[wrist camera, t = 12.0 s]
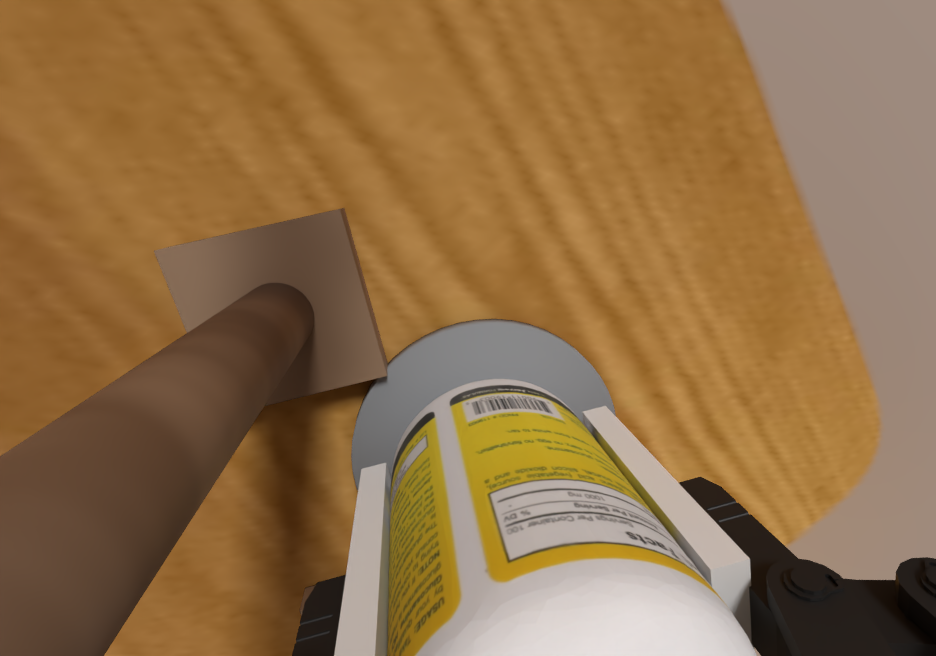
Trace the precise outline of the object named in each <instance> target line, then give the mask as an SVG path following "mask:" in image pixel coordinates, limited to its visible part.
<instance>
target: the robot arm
mask: <svg viewBox="0 0 936 656" xmlns="http://www.w3.org/2000/svg"><path fill="white" fill-rule="evenodd" d="M582 413H583V420H584V425H585V427H586V428H587V429H588V431H589V432H590V433H591V434H592V436H593V437H594V438H595V440H596V441H597V442H598V444H599V445H600V446H601V448H602V449H603V450H604V451H605V453H606V454H607V455H608V456H609V458H610V459H611V460H612V461H613V463H614V464H615V465H616V467H617V468H618V469H619V470H620V472H621V473H622V474H623V476H624V477H625V478H626V479H627V480H628V482H629V483H630V484H631V485H632V487H633V488H634V489H635V491H636V492H637V493H638V494H639V496H640V497H641V498H642V499H643V501H644V502H645V503H646V504H647V506H648V507H649V508H650V510H651V511H652V512H653V513H654V515H655V516H656V517H657V519H658V520H659V521H660V522H661V524H662V525H663V526H664V527H665V529H666V530H667V531H668V532H669V534H670V535H671V536H672V537H673V539H674V540H675V541H676V543H677V544H678V545H679V547H680V548H681V549H682V550H683V551H684V553H685V554H686V556H687V557H688V558H689V559H690V560H691V561H692V562H693V563H694V565H695V567H696V568H697V569H698V570H699V572H700V573H701V574H702V576H703V577H704V578H705V579H706V580H707V582H708V583H709V584H710V585H711V586H712V588H713V589H714V590H715V591H716V592H717V594H718V595H719V596H720V598H721V599H722V600H723V601H724V603H725V604H726V605H727V607H728V608H729V609H730V611H731V612H732V613H733V615H734V617H735V618H736V620H737V621H738V623H739V624H740V626H741V627H742V629H743V630H744V632H745V633H746V635H747V636H748V638H749V640H750V642H751V644H752V646H753V648H754V647H755V648H756V649H757V651H758V652H759V653H760V655H761V656H936V559H934V558H911V559H909V560H907V561H905V562H902V563H901V564H900V566H899V567H898V569H897V571H896V580H852V579H843V578H841V576H840V575H839V574H837V573H835V572H834V571H832V570H831V569H829V568H827V567H826V566H824V565H821V564H818V563H815V562H812V561H809V560H802V559H798V558H797V557H796V556H795V555H794V554H793V553H792V552H791V551H790V550H788V549H787V548H786V547H785V546H784V545H783V544H782V543H781V542H780V541H779V540H778V539H777V538H776V537H774V536H773V535H772V534H771V533H770V532H769V531H768V530H767V529H766V528H765V527H764V526H763V525H762V524H760V523H759V522H758V521H757V520H756V519H755V518H754V517H753V516H752V515H749V514H748V511H747V510H745V509H744V508H743V507H742V506H741V505H740V504H739V503H736V500H735V499H734V498H733V497H731V496H730V495H729V494H728V493H727V492H726V491H725V490H724V489H723V488H722V487H721V486H719V485H716V484H714V483H712V482H710V481H708V480H706V479H704V478H702V477H698V478H694V479H691V480H687V481H683V482H680V483H678V482H677V481H676V480H675V479H674V478H673V477H672V476H671V475H670V474H669V472H668V471H667V470H666V469H665V468H664V467H663V466H662V465H661V464H660V463H659V462H658V461H657V460H656V459H655V458H654V457H653V455H652V454H651V453H650V452H649V451H648V450H647V449H646V448H645V447H644V446H643V445H642V444H641V443H640V442H639V441H638V440H637V439H636V437H635V436H634V435H633V434H632V433H631V432H630V431H629V430H628V429H627V428H626V427H625V426H624V425H623V424H622V423H621V422H620V421H619V419H618V418H617V417H616V416H615V415H614V414H613V413H612V412H611V411H610V410H609V409H608V408H607V407H606V406H602V407H599V408H595V409H591V410H587V411H583V412H582ZM390 497H391V477H390V474H389V470H388V467H387V464H386V463H382V464H378V465H375V466H371V467H367V468H363V469H361V475H360V482H359V489H358V496H357V503H356V509H355V516H354V523H353V530H352V537H351V544H350V551H349V558H348V564H347V571H346V575H344V576H340V577H336V578H333V579H329V580H325V581H322V582H318V583H317V584H316V586H315V587H314V589H313V590H312V592H311V593H310V595H309V597H308V598H307V600H306V601H305V604H304V608H303V612H302V616H301V621H300V626H299V629H298V633H297V638H296V644H295V646H294V650H293V654H292V656H387V647H388V605H389V546H390Z"/></svg>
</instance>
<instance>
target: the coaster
mask: <svg viewBox="0 0 936 656" xmlns="http://www.w3.org/2000/svg"><path fill="white" fill-rule="evenodd" d="M489 379H510V380H518V381H523V382H527V383H531V384H534V385H536V386H538V387H541V388H543V389H545V390H547V391H548V392H550V393H551V394H553V395H555V396H556V397H557V398H559V399H560V400H561V401H563V402H564V403H565V404H566V405H567V406H568V407H569V408H570V409H571V410H572V411H573V412H574V414H575V415H576V416H577V417H578V418H579V420H580V421H581V422H582V423H583V424H584V420H583V413H582V412H583V411H587V410H591V409H595V408H599V407H602V406H606V407H607V408H608V409H609V410H610V411H611V412H612V413H613V414H614V415H615V410H614V405H613V403H612V400H611V397H610V394H609V392H608V390H607V388H606V386H605V384H604V382H603V380H602V379H601V377H600V376H599V374H598V373H597V372H596V370H595V369H594V368H593V366H592V365H591V364H590V363H589V362H588V361H587V360H586V359H585V358H584V357H583V356H582V355H581V354H580V353H579V352H578V351H577V350H576V349H574V348H573V347H572V346H571V345H569V344H568V343H567V342H565V341H564V340H562V339H561V338H560V337H558V336H556V335H554V334H552V333H550V332H548V331H546V330H544V329H541V328H539V327H536V326H533V325H530V324H527V323H522V322H517V321H513V320H502V319H482V320H472V321H466V322H461V323H456V324H453V325H450V326H447V327H444V328H440V329H438V330H436V331H434V332H432V333H429V334H427V335H425V336H423V337H421V338H420V339H418V340H417V341H415V342H413V343H412V344H410V345H408V346H407V347H406V348H405V349H403V350H402V351H401V352H400V353H399V354H397V355H396V356H395V357H394V358H393V359H392V360H391V361H390V362H389V363H388V367H387V376H385V377H381V378H376V379H375V380H374V381H373V383H372V384H371V386H370V388H369V390H368V392H367V394H366V395H365V397H364V399H363V402H362V405H361V407H360V410H359V413H358V416H357V420H356V425H355V430H354V435H353V440H352V456H351V457H352V468H353V475H354V479H355V483H356V487H357V490H358V489H359V482H360V475H361V469H363V468H367V467H371V466H375V465H378V464H382V463H386V464H387V467H388V470H389V474H390V477H391V475H392V467H393V462H394V457H395V453H396V450H397V447H398V444H399V442H400V440H401V438H402V436H403V434H404V432H405V430H406V429H407V427H408V426H409V425H410V423H411V422H412V421H413V419H414V418H415V417H416V416H417V415H418V414H419V413H420V412H421V411H422V410H423V409H424V408H425V407H426V406H427V405H428V404H430V403H431V402H432V401H434V400H435V399H436V398H438V397H439V396H441V395H443V394H444V393H446V392H448V391H450V390H452V389H454V388H457V387H459V386H462V385H465V384H468V383H472V382H476V381H481V380H489ZM615 416H616V415H615Z"/></svg>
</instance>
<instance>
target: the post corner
mask: <svg viewBox="0 0 936 656" xmlns="http://www.w3.org/2000/svg"><path fill="white" fill-rule="evenodd" d="M154 252H155V255H156V257H157V260H158V262H159V265H160V267H161V270H162V272H163V275H164V277H165V280H166V282H167V285H168V287H169V290H170V292H171V295H172V297H173V299H174V302H175V304H176V307H177V309H178V312H179V314H180V317H181V319H182V322H183V324H184V327H185V329H186V332H187V334H185V335H184V336H182V337H181V338H179V339H177V340H176V341H174V342H173V343H171V344H170V345H168V346H167V347H165V348H164V349H162V350H161V351H159V352H158V353H156V354H155V355H153V356H152V357H150V358H149V359H147V360H146V361H144V362H143V363H141V364H140V365H138V366H137V367H135V368H134V369H132V370H131V371H129V372H127V373H126V374H124V375H123V376H121V377H120V378H118V379H117V380H115V381H114V382H112V383H111V384H109V385H108V386H106V387H105V388H103V389H102V390H100V391H99V392H97V393H96V394H94V395H93V396H91V397H90V398H88V399H87V400H85V401H84V402H82V403H80V404H79V405H77V406H76V407H74V408H73V409H71V410H70V411H68V412H67V413H65V414H64V415H62V416H61V417H59V418H58V419H56V420H55V421H53V422H52V423H50V424H49V425H47V426H46V427H44V428H43V429H41V430H40V431H38V432H37V433H35V434H34V435H32V436H30V437H29V438H27V439H26V440H24V441H23V442H21V443H20V444H18V445H17V446H15V447H14V448H12V449H11V450H9V451H8V452H6V453H5V454H3V455H2V456H0V656H104V654H105V653H106V651H107V650H108V648H109V647H110V645H111V643H112V642H113V640H114V639H115V637H116V636H117V634H118V633H119V631H120V630H121V628H122V626H123V625H124V623H125V622H126V620H127V619H128V617H129V616H130V614H131V612H132V611H133V609H134V608H135V606H136V605H137V603H138V602H139V600H140V598H141V597H142V595H143V594H144V592H145V591H146V589H147V588H148V586H149V584H150V583H151V581H152V580H153V578H154V577H155V575H156V574H157V572H158V570H159V569H160V567H161V566H162V564H163V563H164V561H165V560H166V558H167V556H168V555H169V553H170V552H171V550H172V549H173V547H174V546H175V544H176V542H177V541H178V539H179V538H180V536H181V535H182V533H183V532H184V530H185V529H186V527H187V525H188V524H189V522H190V521H191V519H192V518H193V516H194V515H195V513H196V511H197V510H198V508H199V507H200V505H201V504H202V502H203V501H204V499H205V497H206V496H207V494H208V493H209V491H210V490H211V488H212V487H213V485H214V483H215V482H216V480H217V479H218V477H219V476H220V474H221V473H222V471H223V469H224V468H225V466H226V465H227V463H228V462H229V460H230V459H231V457H232V455H233V454H234V452H235V451H236V449H237V448H238V446H239V445H240V443H241V442H242V440H243V438H244V437H245V435H246V434H247V432H248V431H249V429H250V428H251V426H252V424H253V423H254V421H255V420H256V418H257V417H258V415H259V414H260V412H261V410H262V409H263V407H264V406H267V405H271V404H275V403H279V402H283V401H287V400H291V399H295V398H299V397H304V396H308V395H312V394H316V393H320V392H324V391H328V390H332V389H336V388H340V387H344V386H348V385H352V384H356V383H360V382H364V381H368V380H372V379H376V378H381V377H385V376H387V367H388V363H387V359H386V355H385V352H384V348H383V345H382V341H381V338H380V334H379V331H378V327H377V323H376V320H375V316H374V313H373V309H372V306H371V302H370V298H369V295H368V291H367V288H366V284H365V281H364V277H363V274H362V270H361V266H360V263H359V259H358V256H357V252H356V249H355V245H354V241H353V238H352V234H351V231H350V227H349V224H348V220H347V217H346V213H345V209H344V208H342V209H338V210H333V211H329V212H324V213H320V214H315V215H311V216H306V217H302V218H297V219H293V220H288V221H284V222H279V223H275V224H271V225H266V226H262V227H257V228H253V229H248V230H244V231H239V232H235V233H230V234H226V235H221V236H217V237H212V238H208V239H203V240H199V241H194V242H190V243H185V244H181V245H176V246H172V247H168V248H164V249H159V250H155V251H154Z"/></svg>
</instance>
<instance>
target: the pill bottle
mask: <svg viewBox="0 0 936 656" xmlns="http://www.w3.org/2000/svg"><path fill="white" fill-rule="evenodd" d="M387 656H757V655H756V653H755V650H754V648H753V646H752V644H751V642H750V640H749V638H748V636H747V635H746V633H745V632H744V630H743V629H742V627H741V626H740V624H739V623H738V621H737V620H736V618H735V617H734V615H733V613H732V612H731V611H730V609H729V608H728V607H727V605H726V604H725V603H724V601H723V600H722V599H721V598H720V596H719V595H718V594H717V592H716V591H715V590H714V589H713V588H712V586H711V585H710V584H709V583H708V582H707V580H706V579H705V578H704V577H703V576H702V574H701V573H700V572H699V570H698V569H697V568H696V567H695V565H694V563H693V562H692V561H691V560H690V559H689V558H688V557H687V556H686V554H685V553H684V551H683V550H682V549H681V548H680V547H679V545H678V544H677V543H676V541H675V540H674V539H673V537H672V536H671V535H670V534H669V532H668V531H667V530H666V529H665V527H664V526H663V525H662V524H661V522H660V521H659V520H658V519H657V517H656V516H655V515H654V513H653V512H652V511H651V510H650V508H649V507H648V506H647V504H646V503H645V502H644V501H643V499H642V498H641V497H640V496H639V494H638V493H637V492H636V491H635V489H634V488H633V487H632V485H631V484H630V483H629V482H628V480H627V479H626V478H625V477H624V476H623V474H622V473H621V472H620V470H619V469H618V468H617V467H616V465H615V464H614V463H613V461H612V460H611V459H610V458H609V456H608V455H607V454H606V453H605V451H604V450H603V449H602V448H601V446H600V445H599V444H598V442H597V441H596V440H595V438H594V437H593V436H592V434H591V433H590V432H589V431H588V429H587V428H586V427H585V425H584V424H583V423H582V422H581V421H580V420H579V418H578V417H577V416H576V415H575V414H574V412H573V411H572V410H571V409H570V408H569V407H568V406H567V405H566V404H565V403H564V402H563V401H561V400H560V399H559V398H557V397H556V396H555V395H553V394H551V393H550V392H548V391H547V390H545V389H543V388H541V387H538V386H536V385H534V384H531V383H527V382H523V381H518V380H510V379H489V380H481V381H476V382H472V383H468V384H465V385H462V386H459V387H457V388H454V389H452V390H450V391H448V392H446V393H444V394H443V395H441V396H439V397H438V398H436V399H435V400H434V401H432V402H431V403H430V404H428V405H427V406H426V407H425V408H424V409H423V410H422V411H421V412H420V413H419V414H418V415H417V416H416V417H415V418H414V419H413V421H412V422H411V423H410V425H409V426H408V427H407V429H406V430H405V432H404V434H403V436H402V438H401V440H400V442H399V444H398V447H397V450H396V453H395V457H394V462H393V467H392V475H391V497H390V546H389V605H388V647H387Z"/></svg>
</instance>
